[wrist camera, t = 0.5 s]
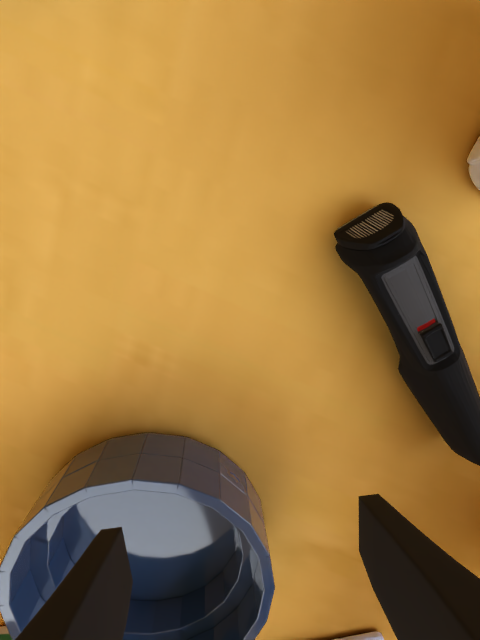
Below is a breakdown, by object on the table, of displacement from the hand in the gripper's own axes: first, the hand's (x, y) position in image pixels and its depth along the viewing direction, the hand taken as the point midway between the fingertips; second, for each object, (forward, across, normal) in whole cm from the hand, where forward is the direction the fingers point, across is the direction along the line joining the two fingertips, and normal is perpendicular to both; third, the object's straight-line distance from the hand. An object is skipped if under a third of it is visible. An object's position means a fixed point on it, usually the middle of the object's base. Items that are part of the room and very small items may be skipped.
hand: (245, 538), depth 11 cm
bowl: (+10, +6, +8) cm, 14 cm away
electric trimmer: (+10, -11, -2) cm, 15 cm away
